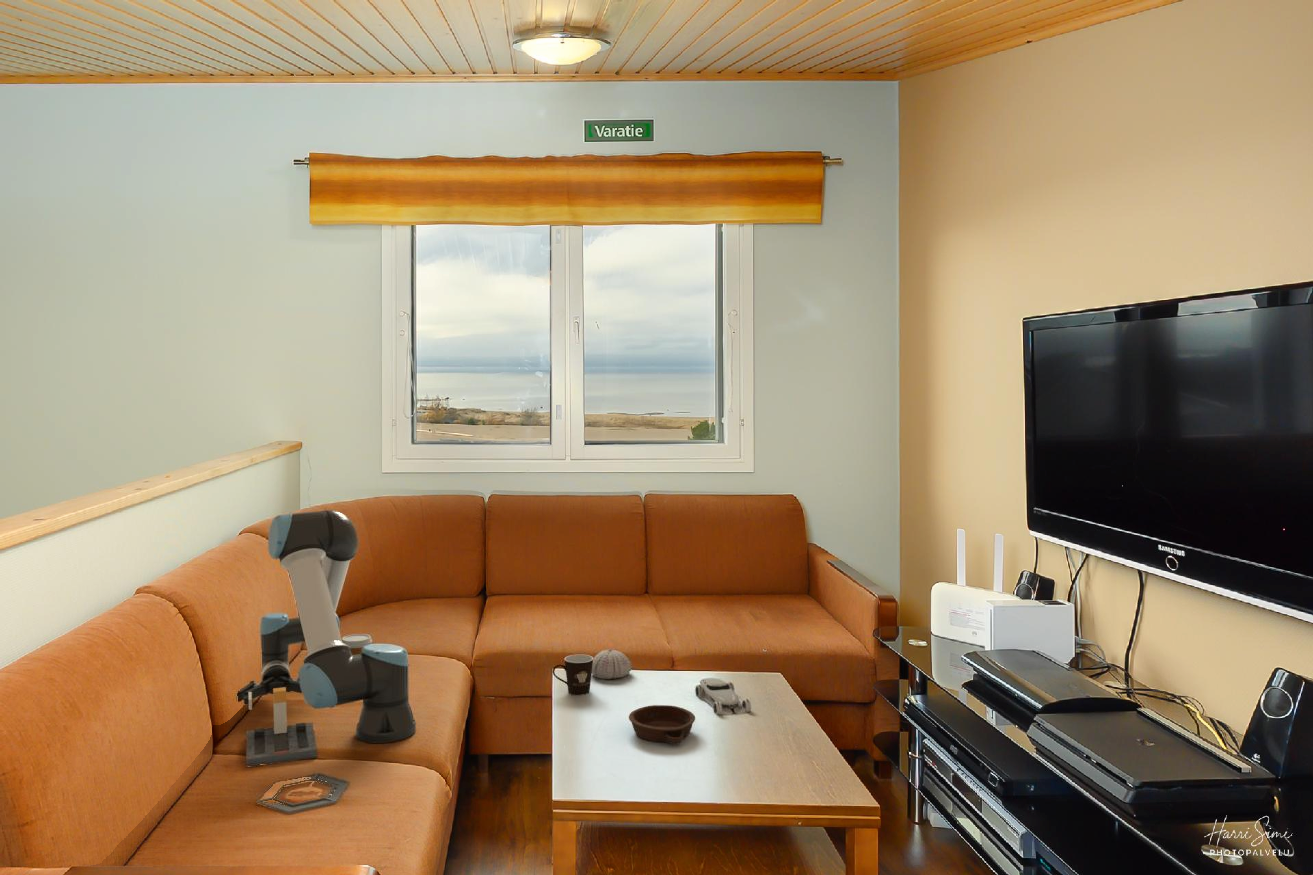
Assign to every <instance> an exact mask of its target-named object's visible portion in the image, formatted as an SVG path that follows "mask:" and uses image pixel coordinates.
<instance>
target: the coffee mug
mask: <svg viewBox="0 0 1313 875" xmlns="http://www.w3.org/2000/svg"><path fill="white" fill-rule="evenodd" d="M593 658H594V657H593V656H591V655H589V654H572V655H567V656H566V657H564V659H563V660H564V664H562V663H561V664H555V666H554V667H553V668H552V674H553V676H554V677H555V678H556V679H557V680H559V681H561V682H563V683H564V684H566V686H567V692H568V694H570V693H571V694H570V695H572V696H573V695H574V696H582V694H584V695H587V694H589V693H590V692H591V690H590V689H591V681H592V675H593V674H592V665H593ZM559 667H562V668H563V670H564V671H565V675H566V676H565V677H566V680H564V679H563V678H560V677H559V676H557V675H556V673H555V671H556V669H557V668H559ZM589 691H590V692H589ZM586 693H587V694H586Z"/></svg>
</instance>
